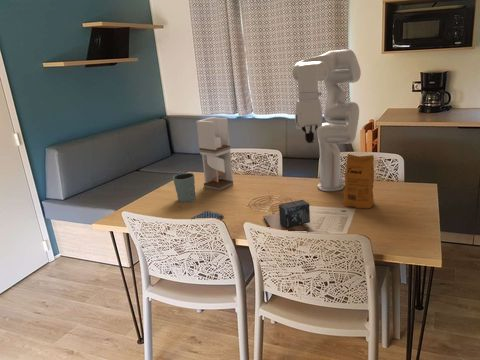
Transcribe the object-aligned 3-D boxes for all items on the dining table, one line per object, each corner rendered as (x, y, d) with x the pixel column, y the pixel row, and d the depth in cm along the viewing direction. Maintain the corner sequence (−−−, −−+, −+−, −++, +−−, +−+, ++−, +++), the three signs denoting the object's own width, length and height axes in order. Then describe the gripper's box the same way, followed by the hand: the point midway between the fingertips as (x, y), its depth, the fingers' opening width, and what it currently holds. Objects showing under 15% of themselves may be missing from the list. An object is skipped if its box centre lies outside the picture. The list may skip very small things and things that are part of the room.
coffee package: (347, 198, 179) (347, 150, 173) (376, 202, 173) (377, 152, 166) (340, 206, 171) (340, 156, 165) (370, 210, 165) (371, 158, 158)
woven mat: (208, 227, 163) (208, 223, 163) (190, 222, 170) (189, 218, 169) (225, 218, 171) (225, 214, 170) (207, 213, 178) (207, 209, 177)
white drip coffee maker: (204, 186, 212) (196, 121, 202) (218, 181, 220) (211, 117, 209) (219, 190, 205) (212, 122, 194) (233, 184, 213) (227, 118, 202)
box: (310, 222, 155) (286, 228, 152) (303, 217, 160) (279, 223, 157) (309, 203, 153) (284, 209, 149) (302, 199, 158) (278, 204, 155)
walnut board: (292, 214, 167) (292, 211, 167) (308, 232, 151) (307, 228, 150) (263, 219, 165) (263, 216, 165) (275, 237, 149) (275, 233, 148)
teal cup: (201, 198, 196) (198, 174, 193) (185, 204, 190) (181, 180, 186) (187, 194, 203) (184, 171, 200) (171, 200, 196) (168, 177, 193)
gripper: (322, 93, 162) (323, 138, 168) (287, 97, 160) (289, 142, 165) (330, 95, 155) (330, 141, 161) (293, 99, 153) (295, 146, 158)
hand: (309, 142), depth 163 cm, fingers closed
